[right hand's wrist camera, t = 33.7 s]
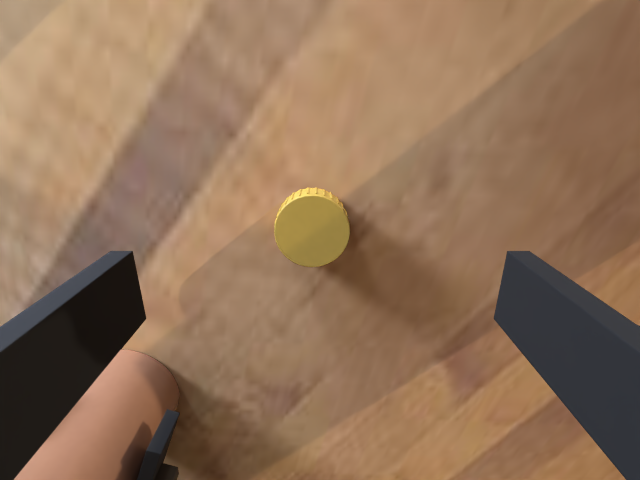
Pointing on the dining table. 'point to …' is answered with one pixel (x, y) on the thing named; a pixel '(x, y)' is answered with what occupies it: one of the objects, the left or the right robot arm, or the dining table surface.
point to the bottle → (108, 424)
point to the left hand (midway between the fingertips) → (88, 410)
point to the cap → (312, 227)
